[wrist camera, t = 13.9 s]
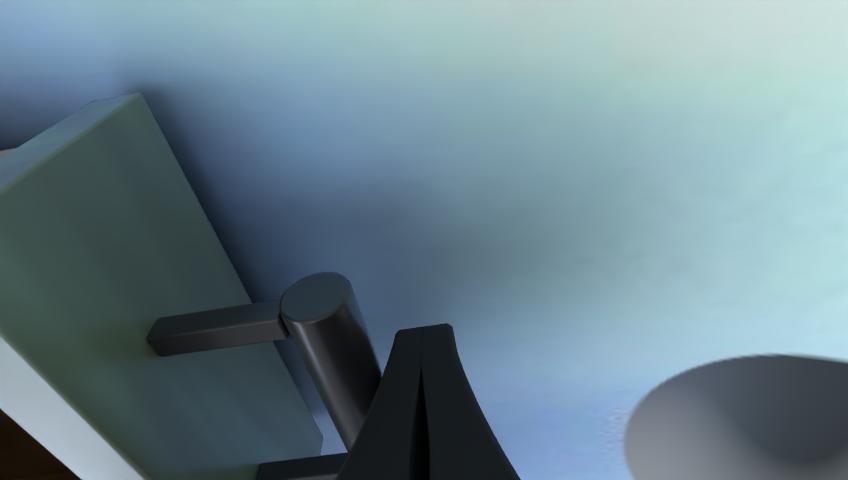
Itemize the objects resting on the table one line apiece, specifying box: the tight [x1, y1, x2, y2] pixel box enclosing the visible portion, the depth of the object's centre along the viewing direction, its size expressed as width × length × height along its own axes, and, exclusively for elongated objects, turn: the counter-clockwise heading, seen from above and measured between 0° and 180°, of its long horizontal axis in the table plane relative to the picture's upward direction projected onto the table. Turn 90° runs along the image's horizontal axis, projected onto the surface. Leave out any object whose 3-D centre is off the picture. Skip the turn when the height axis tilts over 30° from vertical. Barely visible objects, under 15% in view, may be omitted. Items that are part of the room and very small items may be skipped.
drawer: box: [0, 93, 383, 480], centre depth 12 cm, size 18×13×6 cm
